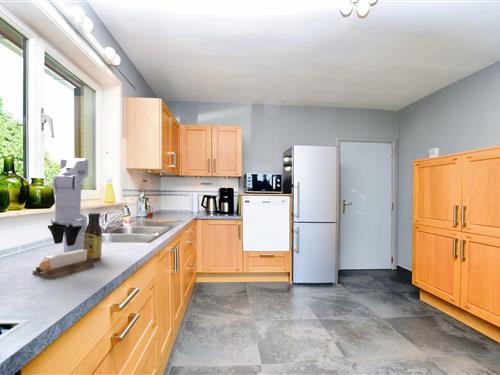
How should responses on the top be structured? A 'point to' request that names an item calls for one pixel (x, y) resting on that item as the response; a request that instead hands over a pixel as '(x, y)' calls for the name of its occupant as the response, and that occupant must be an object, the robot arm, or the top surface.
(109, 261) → the top surface
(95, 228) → the sauce bottle
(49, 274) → the jig
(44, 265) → the white post with dome
